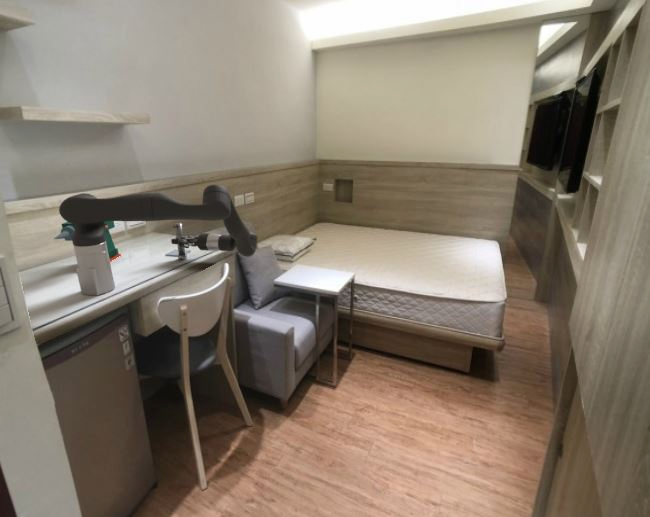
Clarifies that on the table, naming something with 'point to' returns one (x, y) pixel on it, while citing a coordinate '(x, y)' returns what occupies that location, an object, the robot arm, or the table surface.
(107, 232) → the power tool
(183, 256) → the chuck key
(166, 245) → the table surface
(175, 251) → the rest mat
